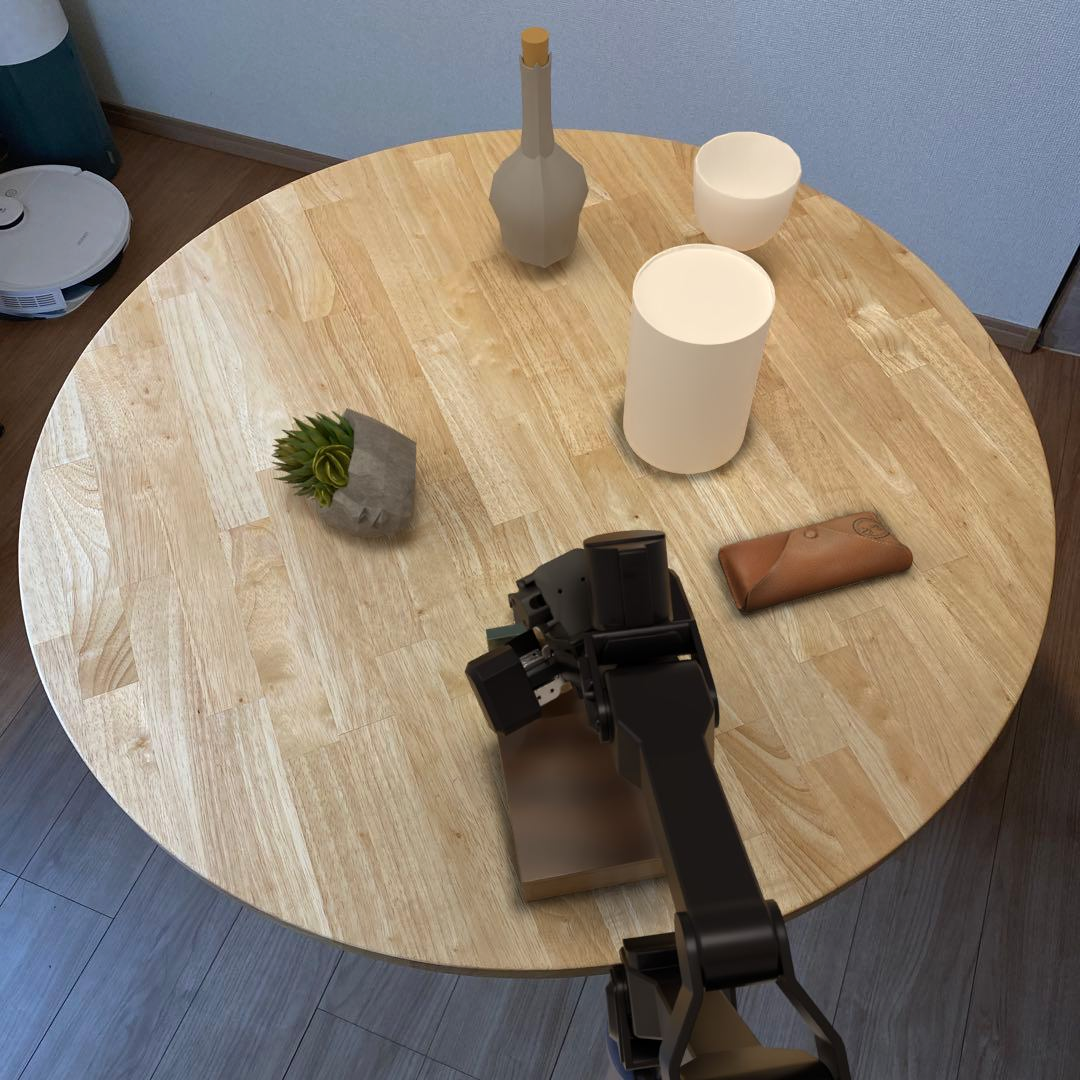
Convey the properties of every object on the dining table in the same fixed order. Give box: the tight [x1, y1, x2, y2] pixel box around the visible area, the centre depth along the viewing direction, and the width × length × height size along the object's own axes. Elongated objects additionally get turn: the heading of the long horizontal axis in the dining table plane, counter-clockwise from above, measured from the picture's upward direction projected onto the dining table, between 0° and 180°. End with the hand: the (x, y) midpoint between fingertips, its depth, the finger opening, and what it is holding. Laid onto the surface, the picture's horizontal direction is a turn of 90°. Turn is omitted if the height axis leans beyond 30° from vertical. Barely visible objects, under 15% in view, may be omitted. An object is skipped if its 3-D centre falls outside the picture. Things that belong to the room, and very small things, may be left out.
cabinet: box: [496, 712, 666, 903], centre depth 91 cm, size 14×13×6 cm
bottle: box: [488, 26, 590, 269], centre depth 119 cm, size 11×11×30 cm
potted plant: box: [270, 407, 417, 538], centre depth 107 cm, size 12×13×15 cm
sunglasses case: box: [717, 511, 914, 615], centre depth 105 cm, size 18×7×7 cm, turn 107°
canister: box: [622, 243, 776, 475], centre depth 108 cm, size 14×14×20 cm
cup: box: [692, 131, 803, 252], centre depth 122 cm, size 12×12×17 cm
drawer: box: [485, 591, 586, 720], centre depth 97 cm, size 17×11×4 cm
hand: (547, 627), depth 91 cm, fingers closed on sprinkles bottle, 4 cm apart
